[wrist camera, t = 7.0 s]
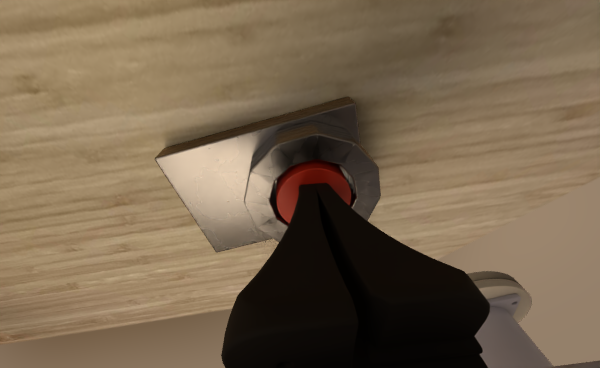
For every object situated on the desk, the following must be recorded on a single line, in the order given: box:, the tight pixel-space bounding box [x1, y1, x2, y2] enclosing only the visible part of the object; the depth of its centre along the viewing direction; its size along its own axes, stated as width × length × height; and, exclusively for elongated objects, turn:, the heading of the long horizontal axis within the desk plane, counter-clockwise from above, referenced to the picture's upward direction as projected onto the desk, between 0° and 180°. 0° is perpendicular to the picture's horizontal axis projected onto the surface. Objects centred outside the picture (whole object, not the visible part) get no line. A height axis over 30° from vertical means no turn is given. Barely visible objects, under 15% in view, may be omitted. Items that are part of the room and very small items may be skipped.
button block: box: [155, 97, 381, 252], centre depth 13 cm, size 10×7×3 cm
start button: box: [276, 159, 351, 223], centre depth 12 cm, size 4×4×2 cm
